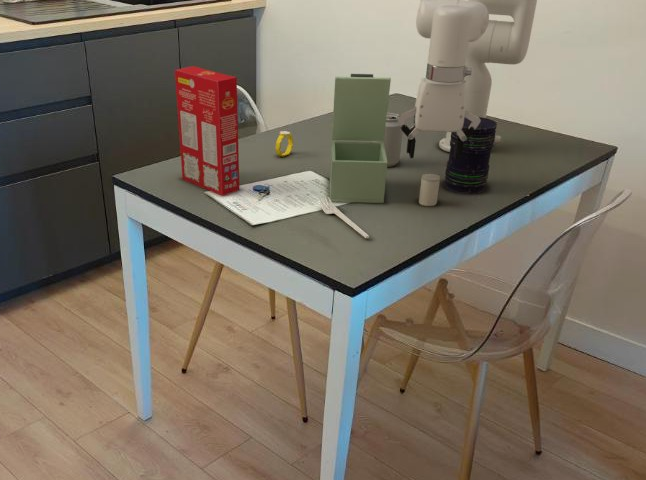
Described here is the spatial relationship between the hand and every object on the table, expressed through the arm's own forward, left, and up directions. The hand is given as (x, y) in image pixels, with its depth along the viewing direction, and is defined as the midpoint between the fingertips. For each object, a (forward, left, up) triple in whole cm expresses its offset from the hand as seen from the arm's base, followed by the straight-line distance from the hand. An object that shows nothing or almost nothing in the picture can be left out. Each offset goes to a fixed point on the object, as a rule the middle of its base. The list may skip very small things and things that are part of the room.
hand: (433, 157), depth 152 cm
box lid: (+16, -11, +6) cm, 20 cm away
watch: (+34, -30, -11) cm, 47 cm away
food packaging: (+50, -8, -11) cm, 52 cm away
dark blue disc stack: (-10, -11, -11) cm, 19 cm away
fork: (+19, +12, -11) cm, 25 cm away
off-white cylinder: (0, 0, -11) cm, 11 cm away
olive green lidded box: (+16, -6, -11) cm, 20 cm away
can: (+8, -26, -11) cm, 29 cm away
